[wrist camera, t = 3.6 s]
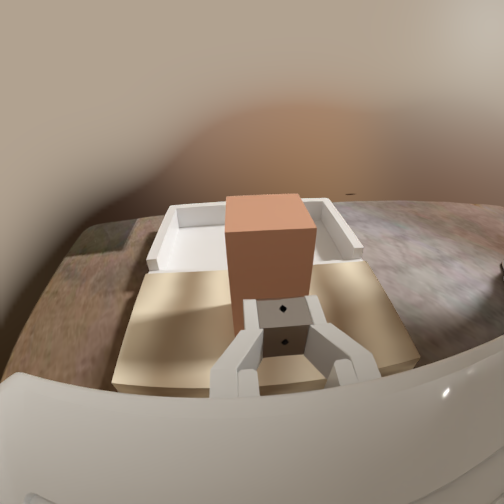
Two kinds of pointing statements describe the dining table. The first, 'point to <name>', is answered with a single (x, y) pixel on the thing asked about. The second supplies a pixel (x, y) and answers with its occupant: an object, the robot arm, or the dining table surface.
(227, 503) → the robot arm
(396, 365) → the birch board
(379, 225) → the dining table surface
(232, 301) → the block
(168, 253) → the box
